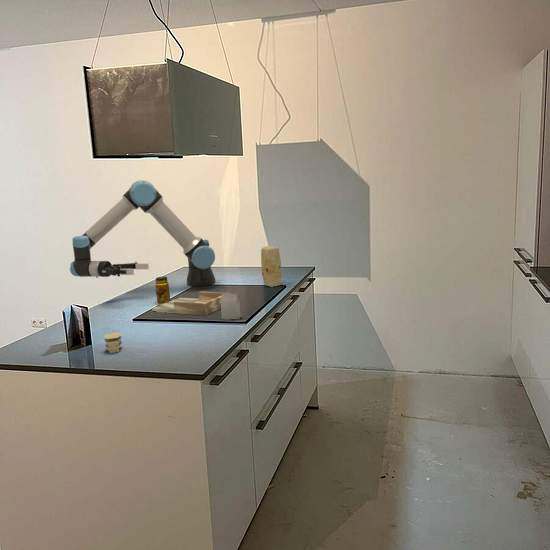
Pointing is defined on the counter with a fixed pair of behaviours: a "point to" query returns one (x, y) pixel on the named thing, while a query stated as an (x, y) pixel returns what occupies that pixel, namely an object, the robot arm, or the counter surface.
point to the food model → (271, 266)
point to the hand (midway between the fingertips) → (141, 269)
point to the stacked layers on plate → (113, 342)
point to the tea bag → (230, 306)
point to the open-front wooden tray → (193, 304)
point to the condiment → (162, 290)
